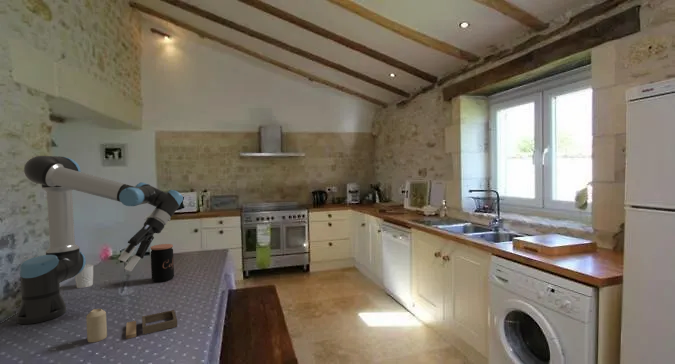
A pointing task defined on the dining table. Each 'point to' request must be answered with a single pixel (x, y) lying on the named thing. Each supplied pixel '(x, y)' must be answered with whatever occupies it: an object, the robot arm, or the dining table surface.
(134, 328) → the strip
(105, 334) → the candle
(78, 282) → the white cup
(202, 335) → the dining table surface
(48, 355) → the dining table surface
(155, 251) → the coffee jar
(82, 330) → the dining table surface
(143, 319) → the wooden tray
